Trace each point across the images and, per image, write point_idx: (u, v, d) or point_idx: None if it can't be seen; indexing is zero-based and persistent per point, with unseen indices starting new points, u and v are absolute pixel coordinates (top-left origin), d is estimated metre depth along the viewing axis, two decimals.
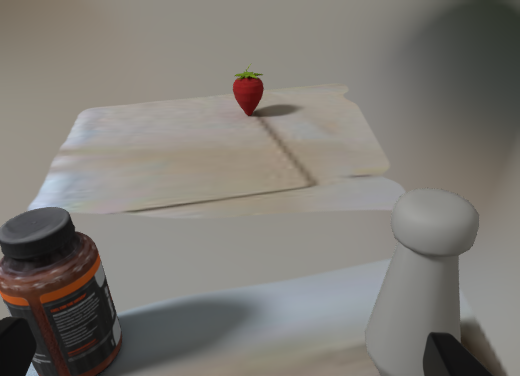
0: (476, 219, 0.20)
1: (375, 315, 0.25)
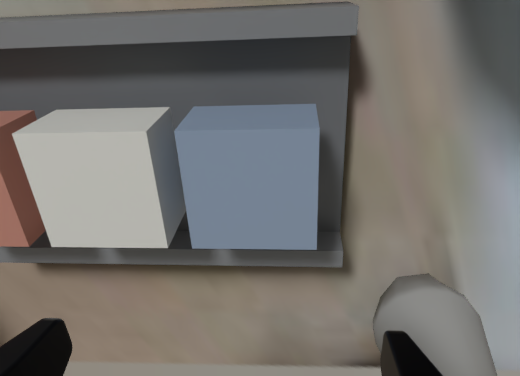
0: None
1: (445, 330, 0.19)
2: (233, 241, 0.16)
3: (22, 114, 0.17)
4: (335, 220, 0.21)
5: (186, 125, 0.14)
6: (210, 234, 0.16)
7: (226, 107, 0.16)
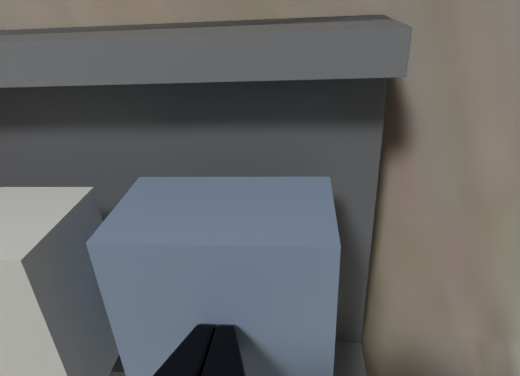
0: None
1: None
2: None
3: None
4: (355, 328, 0.14)
5: (112, 226, 0.08)
6: None
7: (188, 181, 0.10)
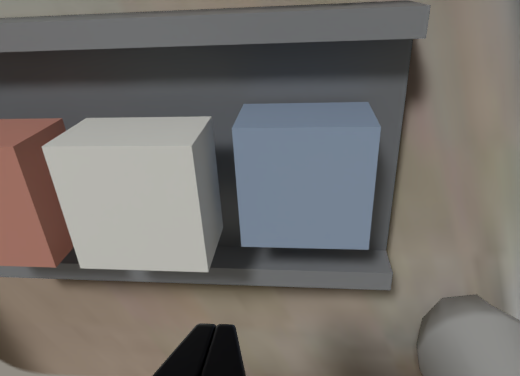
0: None
1: (504, 361, 0.18)
2: (284, 240, 0.16)
3: (50, 123, 0.15)
4: (382, 238, 0.19)
5: (242, 122, 0.14)
6: (261, 232, 0.16)
7: (277, 105, 0.16)
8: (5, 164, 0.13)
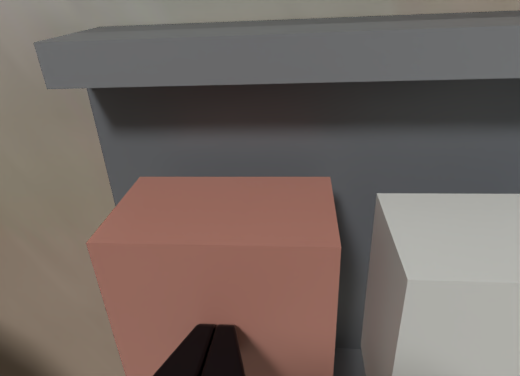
0: None
1: None
2: None
3: (326, 187, 0.10)
4: None
5: None
6: None
7: None
8: (313, 272, 0.08)
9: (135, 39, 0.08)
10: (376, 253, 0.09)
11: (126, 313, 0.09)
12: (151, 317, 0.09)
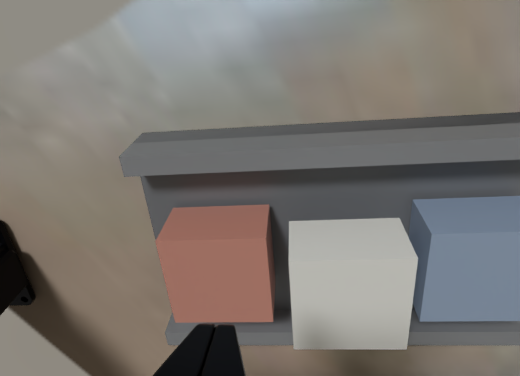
0: None
1: None
2: (458, 315, 0.19)
3: (266, 210, 0.19)
4: None
5: (434, 226, 0.17)
6: (439, 310, 0.19)
7: (444, 201, 0.19)
8: (255, 250, 0.18)
9: (168, 154, 0.18)
10: None
11: (172, 273, 0.19)
12: (184, 275, 0.19)
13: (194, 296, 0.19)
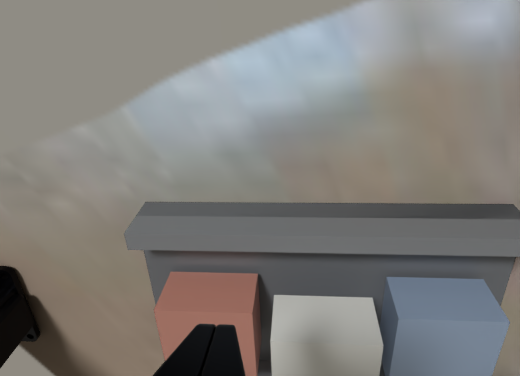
0: None
1: None
2: None
3: (254, 280, 0.22)
4: None
5: (402, 309, 0.19)
6: None
7: (414, 280, 0.21)
8: (243, 322, 0.20)
9: (167, 234, 0.20)
10: None
11: (168, 337, 0.21)
12: (178, 339, 0.21)
13: None
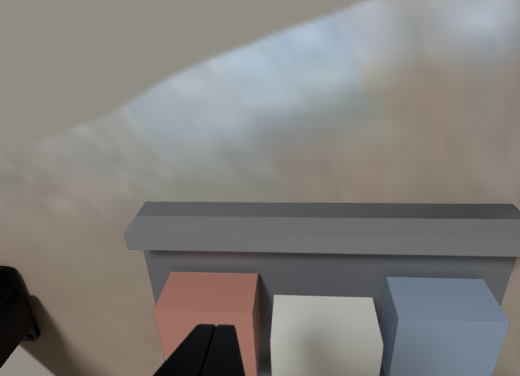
0: None
1: None
2: None
3: (254, 280, 0.22)
4: None
5: (402, 309, 0.19)
6: None
7: (414, 280, 0.21)
8: (243, 322, 0.20)
9: (167, 234, 0.20)
10: None
11: (168, 337, 0.21)
12: (178, 339, 0.21)
13: None
